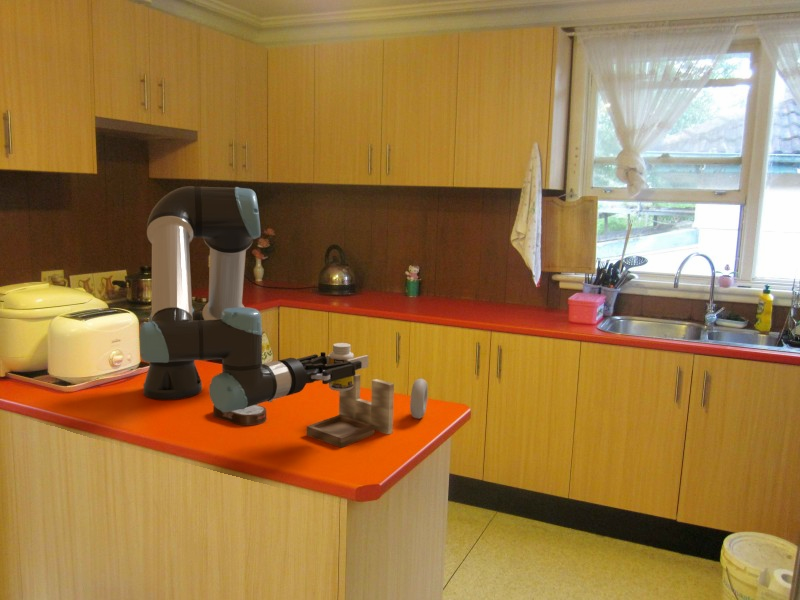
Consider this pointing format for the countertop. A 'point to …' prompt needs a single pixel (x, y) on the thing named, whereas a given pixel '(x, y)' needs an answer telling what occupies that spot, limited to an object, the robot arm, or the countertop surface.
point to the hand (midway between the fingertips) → (357, 358)
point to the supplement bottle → (338, 356)
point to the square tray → (340, 430)
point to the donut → (419, 398)
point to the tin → (243, 415)
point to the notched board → (369, 404)
